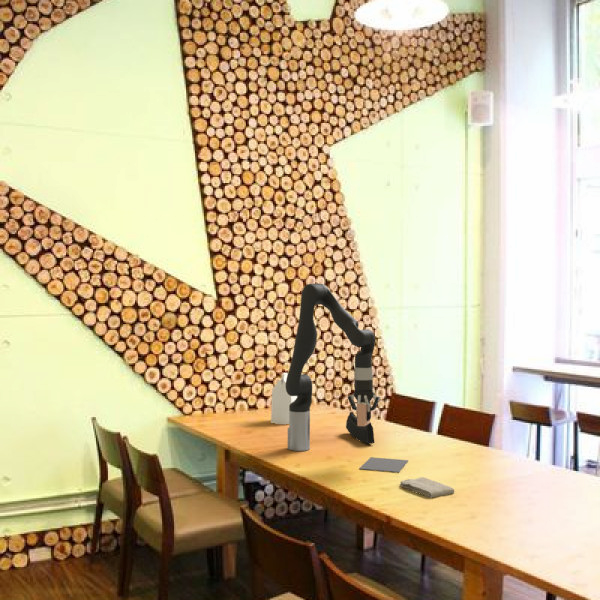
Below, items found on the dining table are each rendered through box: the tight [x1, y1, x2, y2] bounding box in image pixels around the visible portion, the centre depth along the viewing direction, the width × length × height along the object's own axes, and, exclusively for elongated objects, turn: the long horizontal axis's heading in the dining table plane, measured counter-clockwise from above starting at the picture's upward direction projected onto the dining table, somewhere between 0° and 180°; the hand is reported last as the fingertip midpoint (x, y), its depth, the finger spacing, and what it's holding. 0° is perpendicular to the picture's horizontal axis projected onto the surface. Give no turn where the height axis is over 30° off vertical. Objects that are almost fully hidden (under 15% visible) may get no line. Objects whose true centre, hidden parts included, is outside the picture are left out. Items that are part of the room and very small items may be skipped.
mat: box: [358, 456, 409, 474], centre depth 299 cm, size 16×20×1 cm
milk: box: [270, 372, 297, 425], centre depth 391 cm, size 12×12×26 cm
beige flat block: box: [356, 402, 371, 426], centre depth 301 cm, size 3×9×9 cm, turn 160°
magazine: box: [345, 411, 375, 445], centre depth 348 cm, size 17×3×30 cm
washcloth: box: [399, 476, 455, 499], centre depth 264 cm, size 12×18×3 cm, turn 33°
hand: (364, 420), depth 301 cm, fingers closed on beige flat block, 3 cm apart
